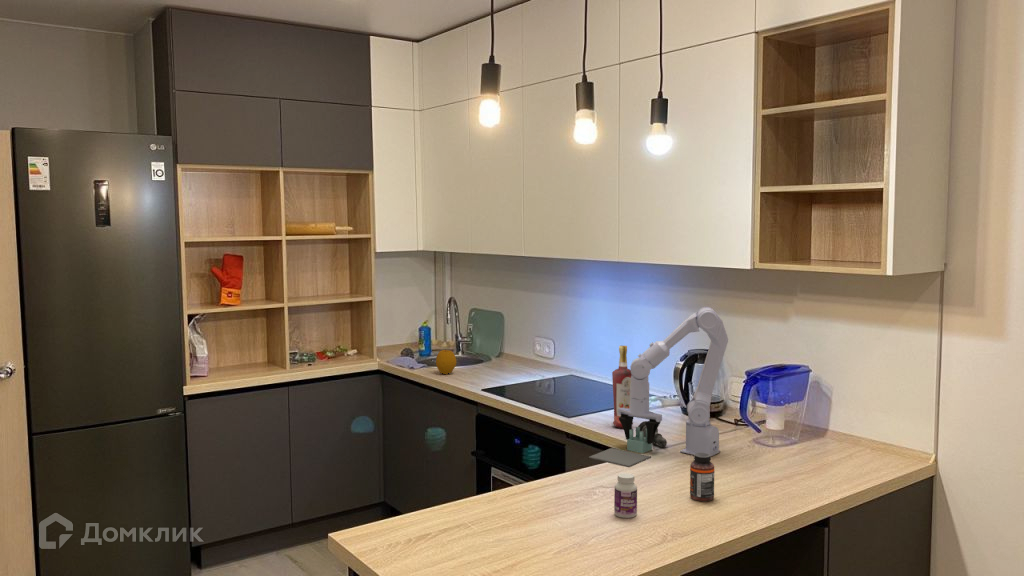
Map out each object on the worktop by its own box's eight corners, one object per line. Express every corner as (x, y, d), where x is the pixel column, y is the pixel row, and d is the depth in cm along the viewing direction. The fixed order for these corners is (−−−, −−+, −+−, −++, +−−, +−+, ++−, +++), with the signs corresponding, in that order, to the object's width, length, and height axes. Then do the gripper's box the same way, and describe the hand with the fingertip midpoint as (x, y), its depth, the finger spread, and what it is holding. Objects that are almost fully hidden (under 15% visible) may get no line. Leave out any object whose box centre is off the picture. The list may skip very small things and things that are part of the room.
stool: (651, 449, 243) (652, 429, 242) (642, 453, 239) (642, 432, 238) (636, 446, 246) (636, 426, 246) (627, 450, 242) (627, 429, 242)
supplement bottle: (687, 494, 202) (688, 450, 202) (711, 494, 202) (711, 451, 201) (692, 502, 197) (692, 457, 196) (716, 502, 196) (717, 457, 195)
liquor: (618, 430, 265) (618, 348, 263) (608, 425, 272) (608, 345, 270) (637, 428, 268) (637, 347, 266) (627, 423, 275) (627, 344, 272)
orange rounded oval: (461, 373, 369) (460, 349, 368) (445, 376, 362) (445, 351, 361) (447, 371, 376) (446, 347, 375) (431, 374, 369) (431, 349, 368)
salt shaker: (643, 439, 255) (666, 457, 245) (633, 431, 252) (655, 449, 242) (654, 425, 255) (677, 441, 245) (644, 417, 252) (666, 433, 242)
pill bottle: (621, 520, 185) (622, 480, 184) (610, 512, 190) (610, 473, 189) (641, 516, 187) (641, 476, 186) (629, 509, 192) (629, 470, 191)
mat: (650, 457, 234) (650, 456, 234) (629, 467, 225) (629, 465, 225) (611, 449, 243) (611, 447, 243) (588, 458, 234) (588, 456, 234)
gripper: (667, 398, 240) (666, 442, 241) (626, 392, 249) (625, 434, 250) (655, 402, 234) (655, 447, 235) (614, 395, 244) (613, 439, 245)
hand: (639, 441), depth 242 cm, fingers open, 7 cm apart
